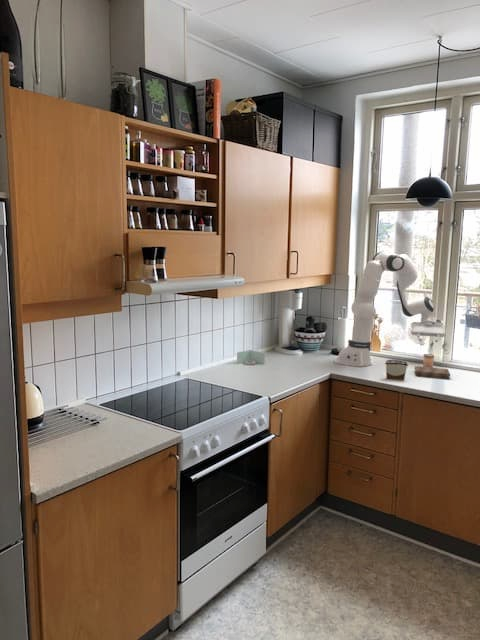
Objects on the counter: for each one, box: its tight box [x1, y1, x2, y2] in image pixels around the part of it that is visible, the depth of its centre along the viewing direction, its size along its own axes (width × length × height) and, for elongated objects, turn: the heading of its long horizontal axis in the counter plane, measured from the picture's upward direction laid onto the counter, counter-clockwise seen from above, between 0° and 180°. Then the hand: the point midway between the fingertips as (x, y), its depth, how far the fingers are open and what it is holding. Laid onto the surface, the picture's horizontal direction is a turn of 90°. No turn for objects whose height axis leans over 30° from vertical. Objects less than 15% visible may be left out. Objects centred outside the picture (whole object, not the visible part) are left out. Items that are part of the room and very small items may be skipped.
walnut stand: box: [414, 365, 451, 380], centre depth 293 cm, size 18×13×3 cm
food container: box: [384, 359, 409, 381], centre depth 282 cm, size 12×6×10 cm, turn 84°
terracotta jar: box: [422, 353, 435, 368], centre depth 306 cm, size 6×6×9 cm
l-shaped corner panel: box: [236, 349, 267, 366], centre depth 305 cm, size 12×12×8 cm
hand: (428, 340), depth 316 cm, fingers open, 8 cm apart
